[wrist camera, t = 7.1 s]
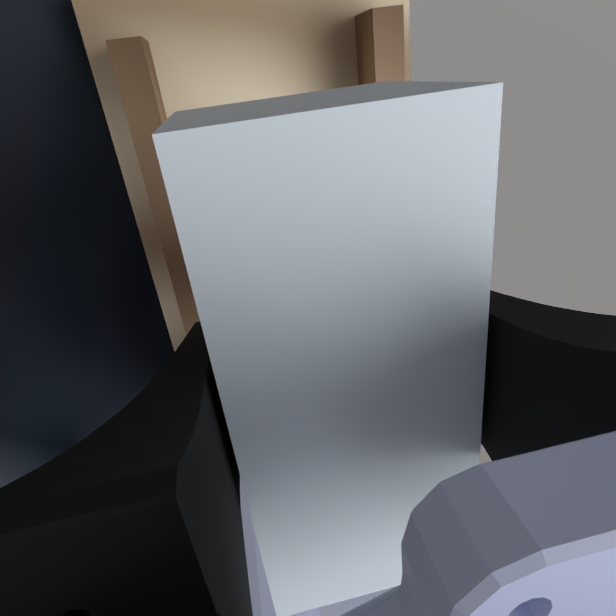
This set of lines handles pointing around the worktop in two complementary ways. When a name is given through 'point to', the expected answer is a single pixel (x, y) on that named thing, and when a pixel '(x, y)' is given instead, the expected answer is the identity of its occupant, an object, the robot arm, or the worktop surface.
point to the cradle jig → (220, 85)
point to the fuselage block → (341, 309)
